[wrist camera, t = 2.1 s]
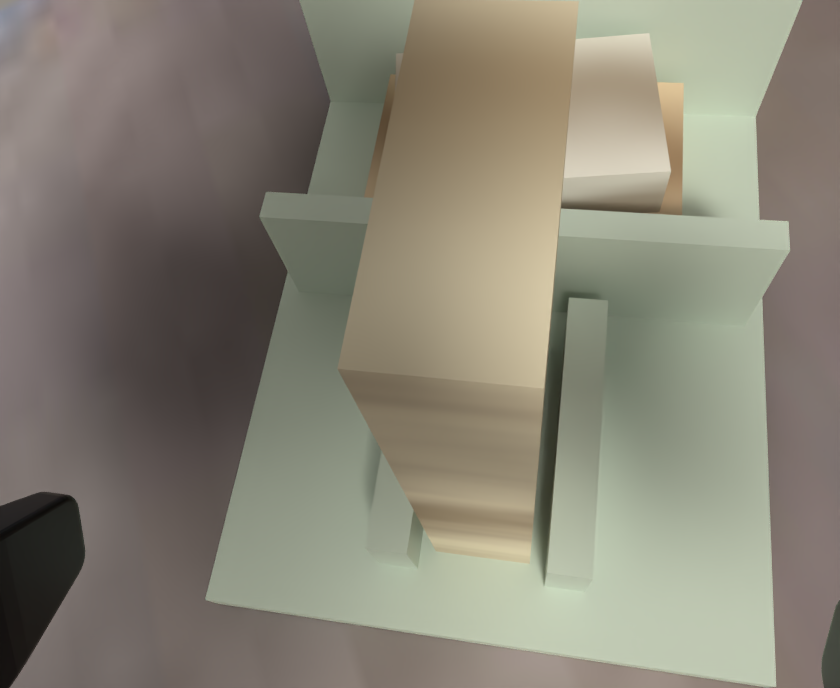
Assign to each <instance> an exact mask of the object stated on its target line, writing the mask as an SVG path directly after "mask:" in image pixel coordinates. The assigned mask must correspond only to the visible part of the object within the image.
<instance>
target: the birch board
mask: <svg viewBox="0 0 840 688" xmlns="http://www.w3.org/2000/svg"><path fill="white" fill-rule="evenodd" d="M578 5H579V1H524V0H414V5H413V10H412V15H411V19H410V24H409V29H408V34H407V38H406V43H405V48H404V53H403V58H402V62H401V67H400V72H399V77H398V81H397V86H396V91H395V96H394V101H393V105H392V110H391V115H390V120H389V124H388V129H387V134H386V139H385V143H384V148H383V153H382V158H381V163H380V167H379V172H378V177H377V182H376V186H375V191H374V196H373V201H372V206H371V210H370V215H369V220H368V225H367V229H366V234H365V239H364V244H363V249H362V253H361V258H360V263H359V268H358V272H357V277H356V282H355V287H354V291H353V296H352V301H351V306H350V311H349V315H348V320H347V325H346V330H345V334H344V339H343V344H342V349H341V354H340V358H339V363H338V368H337V369H338V371H339V373H340V375H341V376H342V378H343V380H344V382H345V384H346V386H347V388H348V389H349V391H350V393H351V395H352V397H353V399H354V401H355V402H356V404H357V406H358V408H359V410H360V412H361V413H362V415H363V417H364V419H365V421H366V423H367V425H368V426H369V428H370V430H371V432H372V434H373V436H374V438H375V439H376V441H377V443H378V445H379V447H380V449H381V450H382V452H383V454H384V456H385V458H386V460H387V462H388V463H389V465H390V467H391V469H392V471H393V473H394V475H395V476H396V478H397V480H398V482H399V484H400V486H401V487H402V489H403V491H404V493H405V495H406V497H407V499H408V500H409V502H410V504H411V506H412V508H413V510H414V512H415V513H416V515H417V517H418V519H419V521H420V523H421V525H422V526H423V528H424V530H425V532H426V534H427V536H428V537H429V539H430V541H431V543H432V545H433V547H434V549H435V550H436V551H437V552H445V553H452V554H460V555H467V556H475V557H482V558H489V559H497V560H504V561H512V562H519V563H527V564H530V555H531V544H532V532H533V521H534V510H535V499H536V487H537V476H538V465H539V454H540V443H541V431H542V420H543V409H544V398H545V386H546V375H547V364H548V353H549V341H550V330H551V318H552V307H553V295H554V283H555V272H556V260H557V249H558V237H559V225H560V214H561V202H562V191H563V179H564V167H565V156H566V144H567V133H568V121H569V109H570V98H571V86H572V75H573V63H574V52H575V40H576V28H577V17H578Z"/></svg>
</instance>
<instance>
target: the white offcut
mask: <svg viewBox="0 0 840 688" xmlns="http://www.w3.org/2000/svg"><path fill="white" fill-rule="evenodd" d="M402 58H403V53H397V54H396V72H395V91H396V86H397V81H398V77H399V72H400V67H401V62H402ZM670 174H671V167H670V161H669V155H668V148H667V142H666V136H665V129H664V123H663V117H662V110H661V104H660V98H659V91H658V85H657V79H656V72H655V66H654V60H653V53H652V47H651V41H650V34H649V33H643V34H631V35H619V36H606V37H594V38H582V39H576V40H575V52H574V63H573V75H572V86H571V98H570V109H569V121H568V133H567V144H566V156H565V167H564V179H563V191H562V202H561V209H578V210H596V211H613V212H631V213H650V212H660V208H661V205H662V201H663V198H664V194H665V191H666V187H667V184H668V181H669V177H670Z"/></svg>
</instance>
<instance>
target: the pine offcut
mask: <svg viewBox="0 0 840 688" xmlns="http://www.w3.org/2000/svg"><path fill="white" fill-rule="evenodd" d="M657 85H658V91H659V98H660V104H661V110H662V117H663V123H664V129H665V136H666V142H667V148H668V155H669V161H670V167H671V174H670V177H669V181H668V184H667V187H666V191H665V194H664V198H663V201H662V205H661V208H660V212H650V213H648V214H666V215H682V181H683V102H684V83H667V82H657ZM394 96H395V74H390V79H389V83H388V88H387V92H386V97H385V102H384V106H383V111H382V116H381V120H380V125H379V130H378V134H377V139H376V144H375V148H374V153H373V157H372V162H371V167H370V171H369V176H368V181H367V185H366V190H365V195H364V197H367V198H373V196H374V191H375V186H376V182H377V177H378V172H379V167H380V163H381V158H382V153H383V148H384V143H385V139H386V134H387V129H388V124H389V120H390V115H391V110H392V105H393V101H394Z"/></svg>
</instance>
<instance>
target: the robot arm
mask: <svg viewBox="0 0 840 688" xmlns="http://www.w3.org/2000/svg"><path fill="white" fill-rule="evenodd" d="M84 559H85V545H84V539H83V532H82V526H81V520H80V514H79V507H78V504H77V502H76V500H75V499H74V498H73V497H72V496H70V495H65V494H58V493H50V492H39V493H36V494H33V495H30V496H27V497H25V498H22V499H19V500H16V501H13V502H10V503H7V504H5V505H2V506H0V688H10V686H11V685H12V683H13V682H14V681H15V679H16V678H17V676H18V675H19V673H20V671H21V670H22V668H23V667H24V665H25V664H26V662H27V660H28V659H29V657H30V655H31V654H32V652H33V650H34V649H35V647H36V645H37V644H38V642H39V640H40V639H41V637H42V635H43V633H44V632H45V630H46V628H47V627H48V625H49V623H50V622H51V620H52V618H53V617H54V615H55V613H56V611H57V610H58V608H59V606H60V605H61V603H62V601H63V600H64V598H65V596H66V595H67V593H68V591H69V589H70V588H71V586H72V584H73V583H74V581H75V579H76V578H77V576H78V574H79V573H80V570H81V568H82V566H83V563H84ZM822 680H823V685H824V688H840V600H839V602H838V604H837V605H836V608H835V611H834V614H833V618H832V622H831V626H830V630H829V633H828V637H827V641H826V645H825V648H824V652H823V657H822Z"/></svg>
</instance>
